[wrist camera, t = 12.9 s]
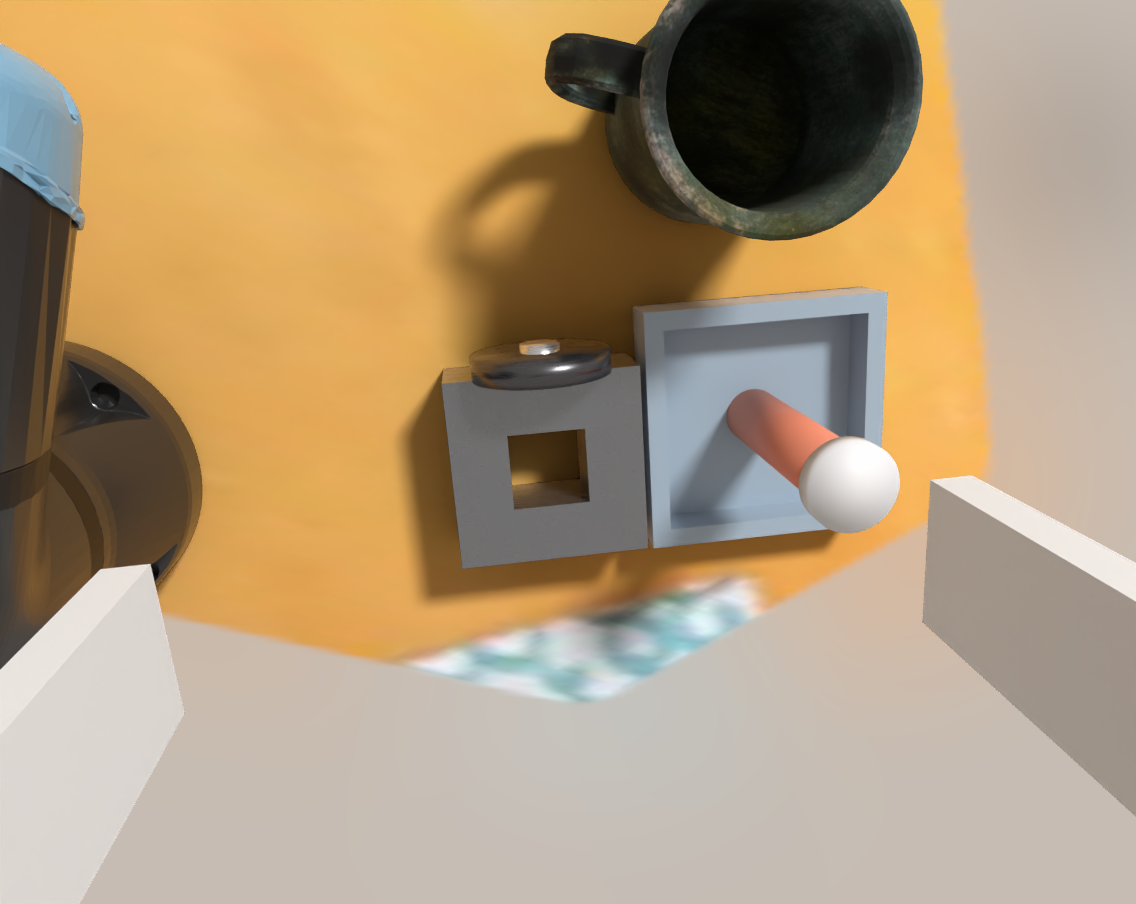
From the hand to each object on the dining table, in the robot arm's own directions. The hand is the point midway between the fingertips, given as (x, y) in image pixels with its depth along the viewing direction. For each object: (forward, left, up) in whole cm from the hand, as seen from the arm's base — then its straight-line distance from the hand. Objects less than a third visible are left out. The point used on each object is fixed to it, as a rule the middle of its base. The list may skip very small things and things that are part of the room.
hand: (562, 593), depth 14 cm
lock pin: (+14, -6, -32) cm, 35 cm away
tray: (+14, -6, -33) cm, 36 cm away
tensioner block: (+2, -7, -33) cm, 34 cm away
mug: (+10, +10, -33) cm, 36 cm away
